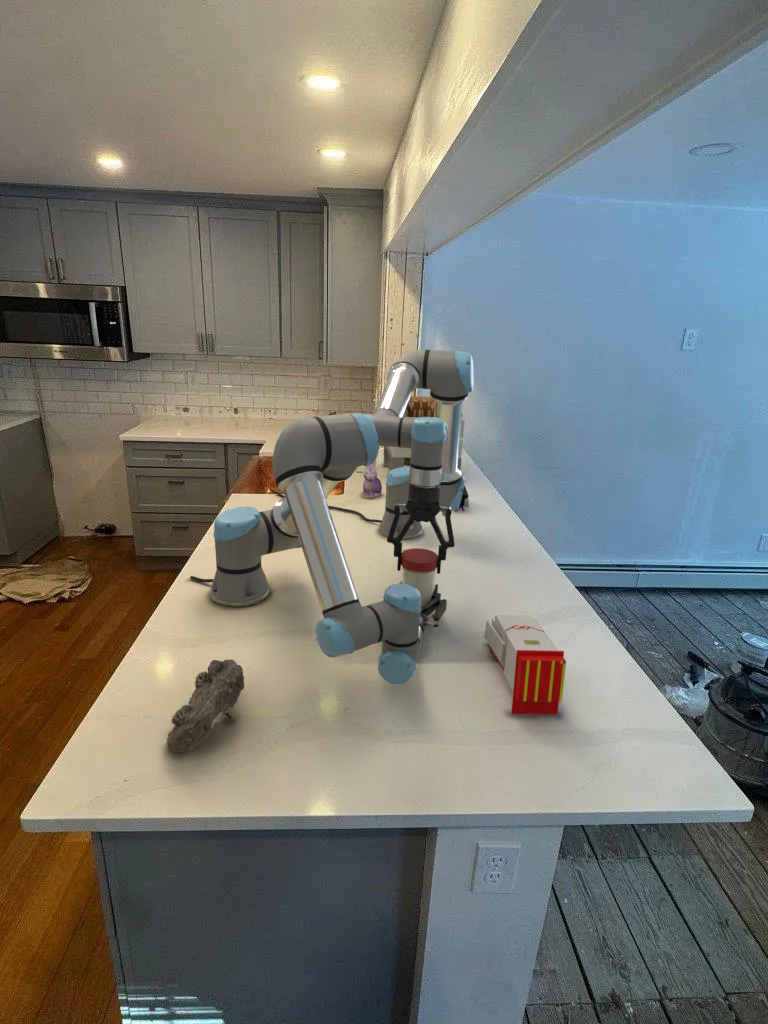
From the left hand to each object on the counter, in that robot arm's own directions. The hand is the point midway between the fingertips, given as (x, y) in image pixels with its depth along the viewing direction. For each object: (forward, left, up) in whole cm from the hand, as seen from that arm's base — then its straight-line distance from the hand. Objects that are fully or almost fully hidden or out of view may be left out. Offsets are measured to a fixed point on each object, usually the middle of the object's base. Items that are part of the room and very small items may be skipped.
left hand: (419, 586), depth 149 cm
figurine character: (+5, +86, -6) cm, 87 cm away
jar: (0, -5, -6) cm, 8 cm away
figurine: (-32, +90, -6) cm, 96 cm away
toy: (+25, -23, -6) cm, 35 cm away
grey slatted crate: (-16, +131, -6) cm, 132 cm away
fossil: (-33, -52, -6) cm, 62 cm away
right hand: (0, -5, +7) cm, 9 cm away
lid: (0, -5, +11) cm, 12 cm away
